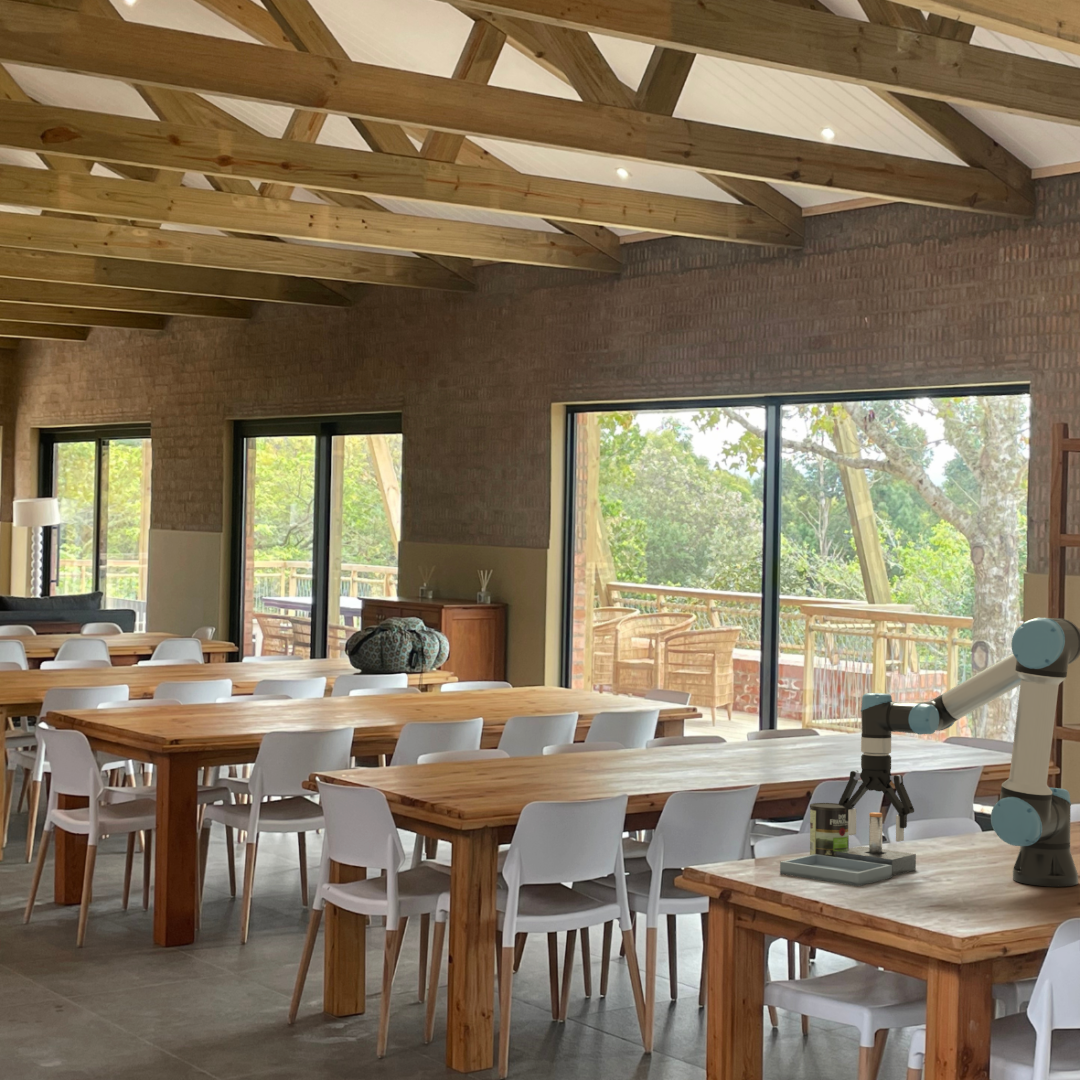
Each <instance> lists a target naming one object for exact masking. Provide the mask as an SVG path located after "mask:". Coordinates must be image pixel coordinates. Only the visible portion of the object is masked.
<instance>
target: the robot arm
mask: <svg viewBox="0 0 1080 1080" xmlns="http://www.w3.org/2000/svg"><path fill="white" fill-rule="evenodd" d="M1011 652H1012V654H1009V655H1008V656H1006V657H1004V658H1003V659H1000V660H999V661H998V662H995V663H994V664H992V665H990V666H989V667H987V668H985V669H984V670H982V671H979V672H978V673H977V674H975V675H973V676H971V677H970V678H968V679H966V680H964V681H963V682H960V683H959V684H958V685H956V686H954V687H952V688H950V689H948V690H947V691H945V692H943V693H942V694H940V695H939V696H936V697H935V698H932V700H930V701H922V702H897V701H896V702H895V701H893V699H892V694H889V693H884V692H882V693H881V692H868V693H864V694H863V695H862V697H861V709H860V713H861V733H860V734H861V737H860V741H861V742H860V743H861V744H860V752H861V753H862V755H861V756H860V768H861V771H859V770H852V771H850V773H849V778H848V782H847V784H846V786H845V788H844V791H843V793H842V794H841V797H840V798H839V801H838V804H839V805H840V806H843V807H845V809H846V821H848V835H849V836H854V835H857V808H855V806H856V805H857V803H858V802H859V801H860V800H861V799H862V797H863V796H864V795H865V794H866V793H867V792H868V791H871V792H872V791H876V792H882V793H883V794H885V796H886V797H887V799H888V800H889V802H890V803H891V805H892V806H893V807H894V809H895V811H896V812H897V814H896V815H895V842H896V843H897V842H903V841H905V829H907V826H908V815H909V814H913V813H914V812H915V808H914V806H913V804H912V801H911V799H910V797H909V794H908V792H907V790H906V786H905V785H904V778H903V775H902V774H897V775H892V774H891V770H892V756H891V755H890V754H891V753H892V733H893V732H894V733H904V734H905V733H906V734H917V735H932V734H935V732H937V731H938V732H939V731H940V732H941V731H944V730H947V729H949V728H951V727H952V726H953V725H954V724H955V722H957V721H958V720H960V719H962V718H963V717H965V716H966V715H969V714H970V713H973V712H974V711H976V710H978V709H980V708H981V707H983V706H985V705H987V704H989V703H991V702H993V701H994V700H996V699H998V698H999V697H1001V696H1004V695H1005V694H1006V693H1008V692H1010V691H1012V690H1014V689H1015V688H1017V687H1019V694H1018V701H1017V710H1016V718H1015V719H1016V720H1015V727H1014V735H1013V744H1012V752H1011V760H1010V769H1009V775H1008V778H1007V780H1005V781H1003V782H1002V783H1001V786H1000V787H1001V788H1000V795H999V800H998V801H997V802H996V803H995V804H994V806H993V808H992V809H991V812H990V823H991V826H992V829H993V830H994V833H995V834H996V835H997V836H998V838H999V839H1000V840H1001V841H1003V842H1004V843H1006V844H1008V845H1010V846H1014V847H1020V848H1019V851H1018V854H1017V857H1016V860H1015V862H1014V866H1013V868H1012V880H1013V881H1015V882H1016V883H1017V882H1018V883H1021V884H1025V885H1031V886H1041V887H1053V888H1054V887H1057V888H1058V887H1063V888H1064V887H1072V886H1076V885H1078V884H1079V875H1078V874H1079V873H1078V870H1077V868H1076V864H1075V862H1074V858H1073V854H1072V853H1071V806H1072V802H1071V794H1070V792H1069V790H1067V789H1065V788H1060V787H1059V788H1057V787H1050V786H1049V785H1048V777H1049V768H1050V760H1051V753H1052V743H1053V735H1054V734H1053V733H1054V727H1055V720H1056V712H1057V711H1056V709H1057V701H1058V696H1059V695H1058V694H1059V687H1060V686H1059V685H1060V684H1061V683H1062V682H1063V681H1065V680H1066V679H1067V678H1068V677H1067V676H1068V669H1069V665H1071V664H1073V663H1074V662H1075V661H1076V660H1078V658H1080V628H1079V627H1078V626H1077V625H1076V624H1075V623H1073V622H1072V621H1070V620H1069V619H1066V618H1061V617H1054V618H1053V617H1035V618H1033V619H1032V618H1031V619H1029V620H1026V621H1025V622H1023V623H1021V624H1020V625H1019V626H1018V627H1017V629H1016V630H1015V631H1014V633H1013V635H1012V638H1011ZM860 779H861V784H860V785H859V787H858V789H857V790H856V792H855V793H854V790H855V788H856V786H857V784H858V781H860ZM891 782H892V784H893V786H894V788H895V789H896V792H895V791H894V788H893V786H892V785H891ZM853 793H854V794H853ZM896 793H897V794H896Z"/></svg>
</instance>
